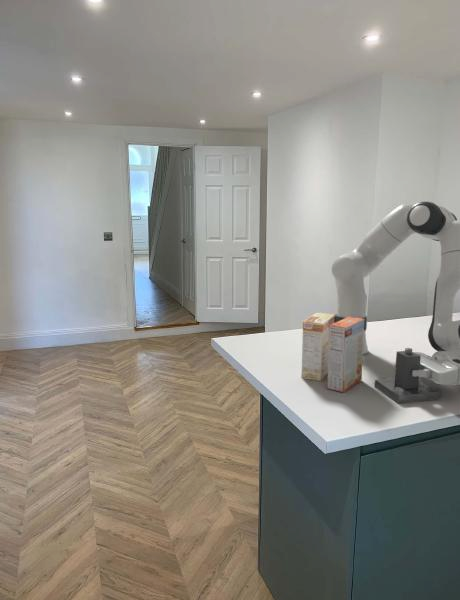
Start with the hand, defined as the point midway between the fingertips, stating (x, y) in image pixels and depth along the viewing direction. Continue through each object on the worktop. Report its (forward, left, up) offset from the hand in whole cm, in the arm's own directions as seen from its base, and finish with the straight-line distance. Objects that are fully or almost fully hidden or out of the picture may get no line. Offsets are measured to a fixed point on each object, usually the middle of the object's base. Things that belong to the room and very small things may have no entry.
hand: (404, 369), depth 138 cm
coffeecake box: (-26, +12, -8) cm, 30 cm away
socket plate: (+1, 0, -8) cm, 8 cm away
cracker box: (-17, +3, -8) cm, 19 cm away
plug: (+1, 0, -7) cm, 7 cm away
